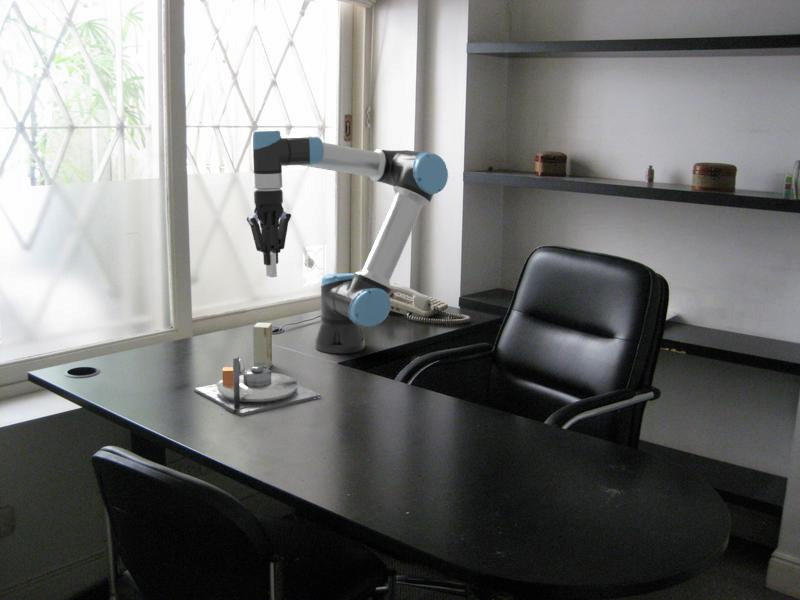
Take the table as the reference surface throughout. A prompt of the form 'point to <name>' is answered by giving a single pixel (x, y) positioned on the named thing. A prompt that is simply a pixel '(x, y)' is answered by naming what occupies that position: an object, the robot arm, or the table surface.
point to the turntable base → (255, 407)
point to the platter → (275, 391)
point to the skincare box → (262, 345)
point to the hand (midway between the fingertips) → (271, 276)
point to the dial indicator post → (236, 385)
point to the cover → (257, 377)
